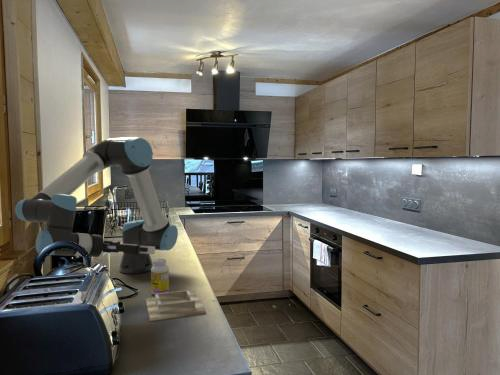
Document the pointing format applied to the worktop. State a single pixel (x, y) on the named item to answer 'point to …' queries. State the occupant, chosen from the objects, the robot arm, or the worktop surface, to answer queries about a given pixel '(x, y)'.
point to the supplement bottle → (159, 277)
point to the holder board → (174, 305)
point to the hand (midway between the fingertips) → (145, 249)
